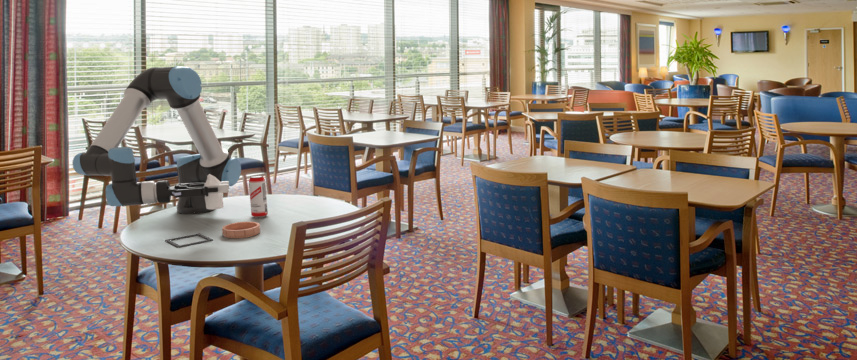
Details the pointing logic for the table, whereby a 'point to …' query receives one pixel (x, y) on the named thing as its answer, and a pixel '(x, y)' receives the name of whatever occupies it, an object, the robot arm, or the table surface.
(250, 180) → the beer can
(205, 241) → the dark grey square frame
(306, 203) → the table surface
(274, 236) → the table surface
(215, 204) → the white tapered upright piece
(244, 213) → the table surface
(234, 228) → the bowl
